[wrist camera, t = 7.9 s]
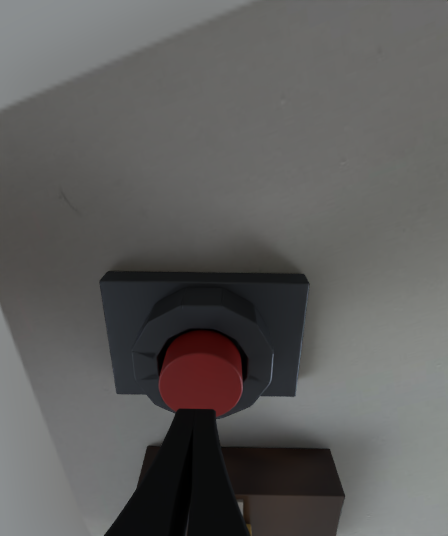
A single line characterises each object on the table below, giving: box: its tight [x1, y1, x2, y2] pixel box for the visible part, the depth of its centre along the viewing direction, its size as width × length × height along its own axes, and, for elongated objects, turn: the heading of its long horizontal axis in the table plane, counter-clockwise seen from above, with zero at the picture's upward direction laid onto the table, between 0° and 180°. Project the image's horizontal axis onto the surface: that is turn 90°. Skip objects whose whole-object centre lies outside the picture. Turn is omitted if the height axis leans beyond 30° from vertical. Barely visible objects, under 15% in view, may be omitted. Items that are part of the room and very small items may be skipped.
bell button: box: [158, 330, 243, 417], centre depth 14 cm, size 4×4×2 cm
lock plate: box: [136, 446, 345, 536], centre depth 21 cm, size 12×10×3 cm
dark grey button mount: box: [100, 271, 309, 419], centre depth 16 cm, size 10×7×3 cm
